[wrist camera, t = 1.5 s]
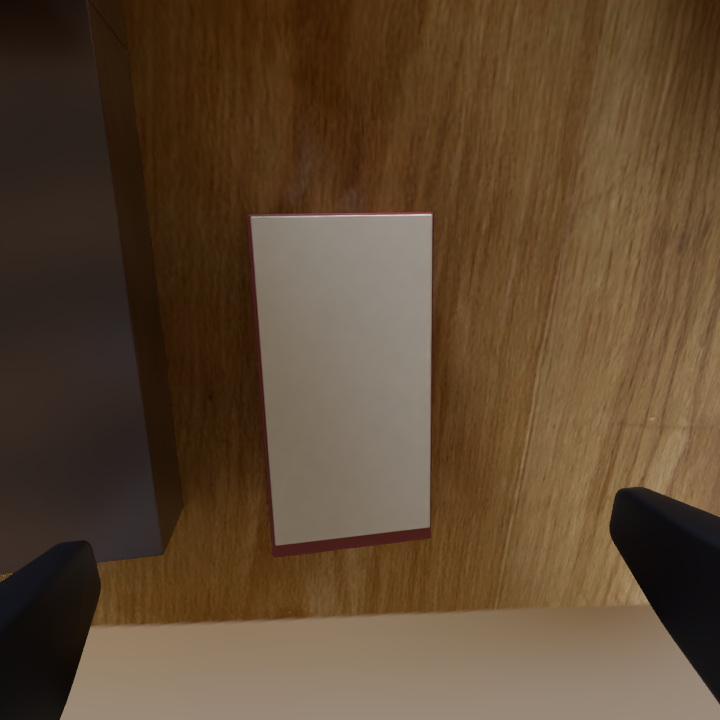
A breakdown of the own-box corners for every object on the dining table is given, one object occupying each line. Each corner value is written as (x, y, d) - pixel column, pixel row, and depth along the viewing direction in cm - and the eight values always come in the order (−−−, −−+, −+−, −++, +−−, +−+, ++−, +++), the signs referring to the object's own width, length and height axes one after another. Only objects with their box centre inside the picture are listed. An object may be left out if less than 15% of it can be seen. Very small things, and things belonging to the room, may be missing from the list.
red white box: (402, 483, 22) (434, 544, 17) (275, 496, 21) (272, 564, 16) (400, 222, 19) (437, 210, 15) (254, 224, 18) (244, 212, 14)
